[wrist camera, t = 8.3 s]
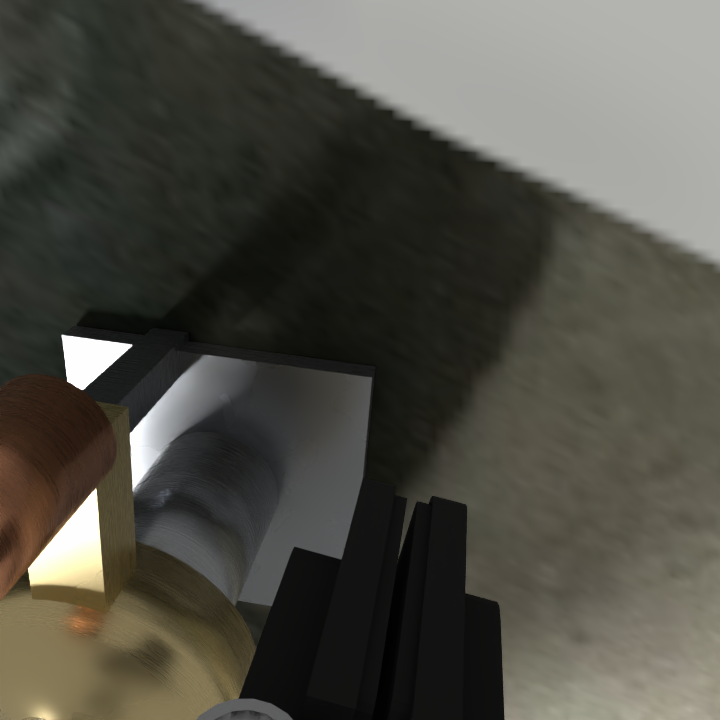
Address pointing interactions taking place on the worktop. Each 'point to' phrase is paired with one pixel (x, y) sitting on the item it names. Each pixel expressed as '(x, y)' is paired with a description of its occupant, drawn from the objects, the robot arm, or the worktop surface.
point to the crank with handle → (97, 577)
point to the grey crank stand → (232, 449)
